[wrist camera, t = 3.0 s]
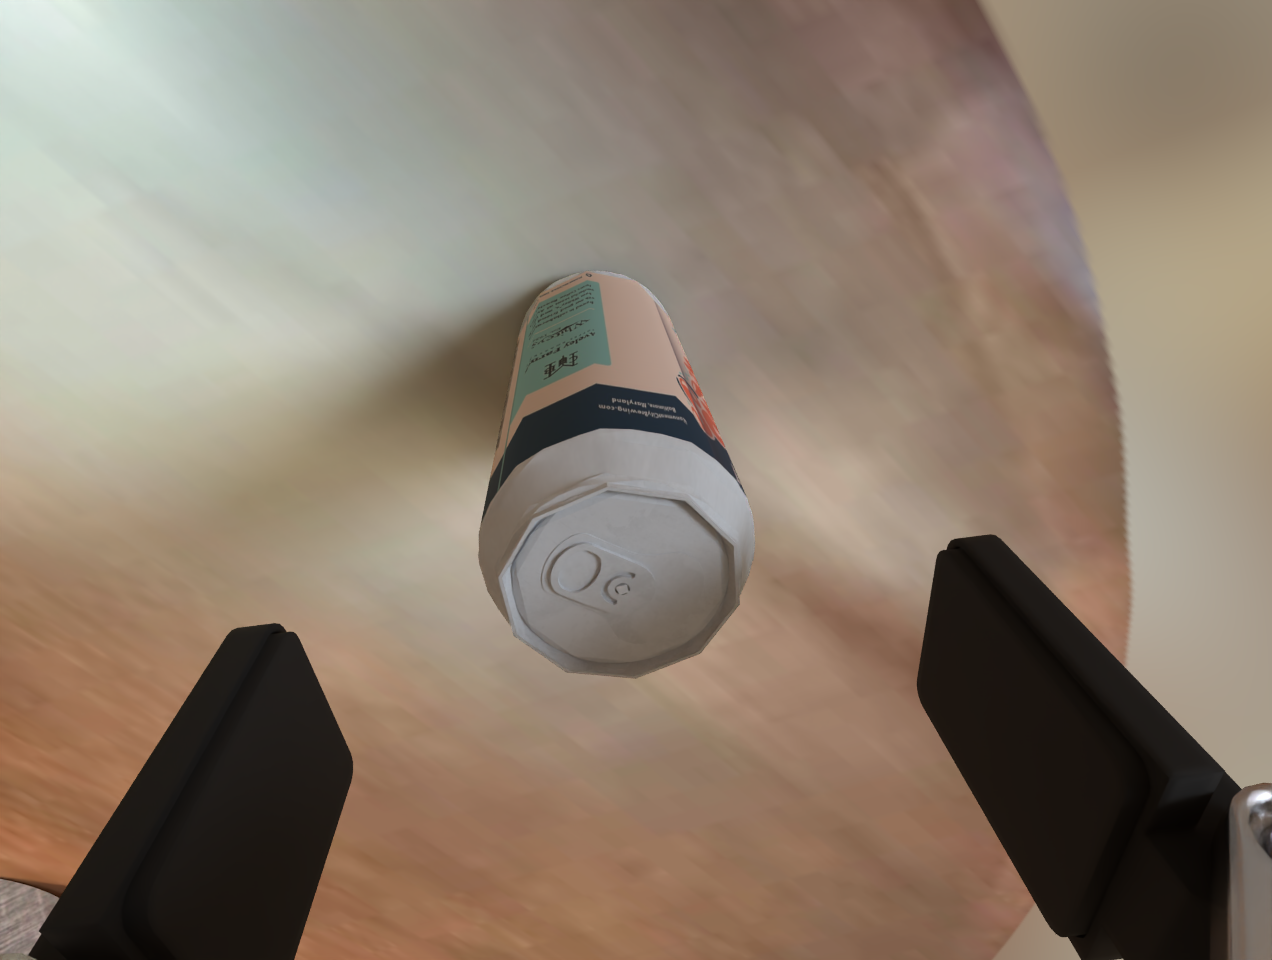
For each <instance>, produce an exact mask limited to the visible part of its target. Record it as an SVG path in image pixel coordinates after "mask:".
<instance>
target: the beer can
mask: <svg viewBox="0 0 1272 960" xmlns="http://www.w3.org/2000/svg"><path fill="white" fill-rule="evenodd" d="M754 549H755V537H754V522H753V515H752V512H751V509H750V506H749V503H748V500H747V497H746V495H745V492H744V490H743V488H742V485H741V483H740V481H739V478H738V476H737V474H736V471H735V469H734V467H733V464H732V462H731V460H730V457H729V455H728V453H727V450H726V448H725V446H724V443H723V441H722V439H721V436H720V434H719V432H718V429H717V427H716V425H715V422H714V420H713V418H712V415H711V413H710V411H709V408H708V406H707V404H706V401H705V399H704V397H703V394H702V392H701V390H700V387H699V385H698V383H697V380H696V378H695V376H694V373H693V371H692V369H691V366H690V364H689V362H688V359H687V357H686V355H685V352H684V350H683V348H682V345H681V343H680V341H679V338H678V336H677V334H676V331H675V329H674V327H673V324H672V322H671V320H670V317H669V315H668V314H667V312H666V310H665V309H664V307H663V306H662V304H661V302H660V301H659V300H658V299H657V298H656V297H655V296H654V295H653V294H652V293H651V291H650V290H649V289H648V288H646V287H645V286H643V285H642V284H640V283H639V282H637V281H635V280H633V279H631V278H629V277H627V276H625V275H621V274H617V273H613V272H608V271H585V272H580V273H575V274H572V275H570V276H568V277H565V278H563V279H560V280H558V281H556V282H554V283H553V284H551V285H550V286H549V287H548V288H547V289H545V290H544V291H543V292H542V293H540V294H539V295H538V296H537V297H536V299H535V300H534V302H533V304H532V305H531V307H530V308H529V310H528V311H527V313H526V316H525V318H524V321H523V324H522V326H521V329H520V332H519V336H518V341H517V346H516V351H515V356H514V361H513V366H512V371H511V376H510V381H509V386H508V391H507V396H506V401H505V406H504V411H503V416H502V421H501V426H500V431H499V436H498V441H497V446H496V451H495V456H494V461H493V466H492V471H491V476H490V481H489V486H488V491H487V496H486V501H485V506H484V511H483V516H482V521H481V526H480V531H479V554H478V557H479V564H480V567H481V571H482V574H483V577H484V580H485V584H486V587H487V590H488V592H489V594H490V596H491V597H492V599H493V601H494V602H495V604H496V606H497V607H498V609H499V610H500V612H501V613H502V615H503V616H504V617H505V619H506V620H507V622H508V623H509V624H510V626H511V627H512V631H513V635H514V636H515V637H516V638H518V639H519V640H521V641H522V642H523V643H525V644H526V645H528V646H529V647H531V648H532V649H534V650H535V651H536V652H538V653H539V654H541V655H542V656H544V657H545V658H547V659H548V660H549V661H551V662H552V663H554V664H555V665H557V666H558V667H560V668H561V669H562V670H564V671H565V672H568V673H579V674H591V675H602V676H614V677H625V678H638V677H641V676H643V675H646V674H649V673H651V672H654V671H656V670H659V669H662V668H664V667H667V666H669V665H672V664H675V663H677V662H680V661H682V660H685V659H688V658H690V657H693V656H695V655H698V654H700V653H701V652H702V651H703V650H704V648H705V647H706V646H707V645H708V643H709V642H710V641H711V640H712V638H713V637H714V636H715V635H716V633H717V632H718V631H719V630H720V628H721V627H722V626H723V625H724V623H725V622H726V621H727V620H728V618H729V617H730V616H731V615H732V613H733V612H734V611H735V610H736V608H737V607H738V606H739V605H740V599H739V596H740V594H741V592H742V590H743V587H744V585H745V583H746V580H747V578H748V576H749V573H750V569H751V565H752V561H753V557H754Z"/></svg>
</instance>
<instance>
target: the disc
mask: <svg viewBox="0 0 1272 960" xmlns="http://www.w3.org/2000/svg"><path fill="white" fill-rule="evenodd" d="M58 900H59V898H58V897H56V896H54V895H52V894H50V893H48V892H45V891H43V890H40V889H37V888H34V887H31V886H28V885H25V884H21V883H17V882H13V881H8V880H3V879H0V954H11V953H23V954H25V955H28V954H29V953H30V951H31V949H32V948H33V946H34V945H35V943H36V941H37V940H38V938H39V937H40V935H41V933H40V932H39V929H40V928H41V926H42V925H43V923H44V922H45V920H46V919H47V917H48V915H49V914H50V912H51V911H52V909H53V908H54V906H55V904H56V903H57V901H58Z"/></svg>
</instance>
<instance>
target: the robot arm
mask: <svg viewBox="0 0 1272 960" xmlns="http://www.w3.org/2000/svg"><path fill="white" fill-rule="evenodd" d="M917 691H918V695H919V698H920V701H921V704H922V706H923V708H924V710H925V711H926V713H927V715H928V717H929V718H930V720H931V722H932V723H933V725H934V727H935V729H936V730H937V732H938V734H939V736H940V737H941V739H942V741H943V743H944V744H945V746H946V748H947V750H948V751H949V753H950V755H951V757H952V758H953V760H954V762H955V764H956V765H957V767H958V769H959V770H960V772H961V774H962V776H963V777H964V779H965V781H966V783H967V784H968V786H969V788H970V790H971V791H972V793H973V795H974V797H975V798H976V800H977V802H978V804H979V805H980V807H981V809H982V810H983V812H984V814H985V816H986V817H987V819H988V821H989V823H990V824H991V826H992V828H993V830H994V831H995V833H996V835H997V837H998V838H999V840H1000V842H1001V844H1002V845H1003V847H1004V849H1005V850H1006V852H1007V854H1008V856H1009V857H1010V859H1011V861H1012V863H1013V864H1014V866H1015V868H1016V870H1017V871H1018V873H1019V875H1020V877H1021V878H1022V880H1023V882H1024V884H1025V885H1026V887H1027V889H1028V891H1029V892H1030V894H1031V896H1032V897H1033V899H1034V901H1035V903H1036V904H1037V906H1038V908H1039V910H1040V911H1041V913H1042V915H1043V917H1044V918H1045V920H1046V922H1047V923H1048V925H1049V926H1050V928H1051V929H1052V930H1053V931H1054V932H1055V933H1056V934H1057V935H1059V936H1060V937H1068V938H1069V939H1070V941H1071V943H1072V945H1073V946H1074V948H1075V950H1076V951H1077V953H1078V955H1079V957H1080V958H1081V960H1115V959H1122V958H1123V959H1124V960H1272V783H1261V784H1256V785H1252V786H1248V787H1245V788H1243V789H1241V788H1240V787H1239V786H1238V785H1237V784H1236V783H1235V782H1234V781H1233V780H1232V779H1231V778H1230V776H1229V775H1228V774H1227V773H1226V772H1225V770H1224V769H1223V768H1222V767H1221V766H1220V765H1219V764H1218V763H1217V762H1216V761H1215V760H1214V759H1213V758H1212V757H1211V756H1210V755H1209V754H1208V753H1207V752H1206V751H1205V750H1204V749H1203V748H1202V747H1201V746H1200V745H1199V744H1198V743H1197V741H1196V740H1195V739H1194V738H1193V737H1192V736H1191V735H1190V734H1189V733H1188V732H1187V731H1186V730H1185V729H1184V728H1183V727H1182V726H1181V725H1180V724H1179V723H1178V722H1177V721H1176V720H1175V719H1174V718H1173V717H1172V716H1171V715H1170V714H1169V713H1168V711H1167V710H1165V708H1164V707H1163V706H1162V705H1161V704H1160V703H1159V702H1158V701H1157V700H1156V699H1155V698H1154V697H1153V696H1152V695H1151V694H1150V693H1149V692H1148V691H1147V690H1146V689H1145V688H1144V687H1143V686H1142V685H1141V684H1140V683H1139V682H1138V680H1137V679H1136V678H1135V677H1134V676H1133V675H1132V674H1131V673H1130V672H1129V671H1128V670H1127V669H1126V668H1125V667H1124V666H1123V665H1122V664H1121V663H1120V662H1119V661H1118V660H1117V659H1116V658H1115V657H1114V656H1113V655H1112V654H1111V653H1110V652H1109V651H1108V649H1107V648H1106V647H1105V646H1104V645H1103V644H1102V643H1101V642H1100V641H1099V640H1098V639H1097V638H1096V637H1095V636H1094V635H1093V634H1092V633H1091V632H1090V631H1089V630H1088V629H1087V628H1086V627H1085V626H1084V625H1083V624H1082V623H1081V622H1080V621H1079V619H1078V618H1077V617H1076V616H1075V615H1074V614H1073V613H1072V612H1071V611H1070V610H1069V609H1068V608H1067V607H1066V606H1065V605H1064V604H1063V603H1062V602H1061V601H1060V600H1059V599H1058V598H1057V597H1056V596H1055V595H1054V594H1053V593H1052V592H1051V591H1050V590H1049V588H1048V587H1047V586H1046V585H1045V584H1044V583H1043V582H1042V581H1041V580H1040V579H1039V578H1038V577H1037V576H1036V575H1035V574H1034V573H1033V572H1032V571H1031V570H1030V569H1029V568H1028V567H1027V566H1026V565H1025V564H1024V563H1023V562H1022V561H1021V560H1020V559H1019V557H1018V556H1017V555H1016V554H1015V553H1014V552H1013V551H1012V550H1011V549H1010V548H1009V547H1008V546H1007V545H1006V544H1005V543H1004V542H1003V541H1002V540H1001V539H1000V538H998V537H997V536H996V535H991V534H990V535H982V536H974V537H966V538H958V539H954V540H951V541H950V543H949V544H948V547H947V550H943V551H940V552H939V553H938V555H937V559H936V565H935V571H934V577H933V583H932V590H931V596H930V602H929V608H928V615H927V621H926V627H925V633H924V640H923V646H922V652H921V658H920V664H919V671H918V677H917ZM352 775H353V761H352V756H351V753H350V751H349V748H348V746H347V744H346V742H345V739H344V737H343V735H342V733H341V731H340V728H339V726H338V724H337V722H336V719H335V717H334V715H333V713H332V711H331V708H330V706H329V704H328V702H327V699H326V697H325V695H324V693H323V691H322V688H321V686H320V684H319V682H318V679H317V677H316V675H315V673H314V671H313V668H312V666H311V664H310V662H309V659H308V657H307V655H306V653H305V651H304V648H303V646H302V644H301V642H300V639H299V638H298V636H297V634H295V633H294V632H286V630H285V629H284V627H283V626H281V625H280V624H276V623H273V624H265V625H257V626H249V627H241V628H236V629H234V630H232V631H231V632H230V633H229V634H228V635H227V636H226V638H225V639H224V641H223V643H222V644H221V646H220V647H219V649H218V650H217V652H216V654H215V655H214V657H213V658H212V660H211V661H210V663H209V665H208V666H207V668H206V669H205V671H204V672H203V674H202V675H201V677H200V679H199V680H198V682H197V683H196V685H195V686H194V688H193V690H192V691H191V693H190V694H189V696H188V697H187V699H186V701H185V702H184V704H183V705H182V707H181V708H180V710H179V712H178V713H177V715H176V716H175V718H174V719H173V721H172V723H171V724H170V726H169V727H168V729H167V730H166V732H165V734H164V735H163V737H162V738H161V740H160V741H159V743H158V744H157V746H156V748H155V749H154V751H153V752H152V754H151V755H150V757H149V759H148V760H147V762H146V763H145V765H144V766H143V768H142V770H141V771H140V773H139V774H138V776H137V777H136V779H135V781H134V782H133V784H132V785H131V787H130V788H129V790H128V792H127V793H126V795H125V796H124V798H123V799H122V801H121V802H120V804H119V806H118V807H117V809H116V810H115V812H114V813H113V815H112V817H111V818H110V820H109V821H108V823H107V824H106V826H105V828H104V829H103V831H102V832H101V834H100V835H99V837H98V839H97V840H96V842H95V843H94V845H93V846H92V848H91V850H90V851H89V853H88V854H87V856H86V857H85V859H84V861H83V862H82V864H81V865H80V867H79V868H78V870H77V871H76V873H75V875H74V876H73V878H72V879H71V881H70V882H69V884H68V886H67V887H66V889H65V890H64V892H63V893H62V895H61V897H60V898H59V900H58V901H57V903H56V904H55V906H54V908H53V909H52V911H51V912H50V914H49V915H48V917H47V919H46V920H45V922H44V923H43V925H42V926H41V928H40V929H39V932H40V933H41V935H40V937H39V938H38V940H37V941H36V943H35V945H34V946H33V948H32V949H31V951H30V953H29V954H28V955H25V954H23V953H11V954H0V960H294V958H295V955H296V952H297V949H298V946H299V943H300V939H301V936H302V933H303V930H304V927H305V924H306V921H307V918H308V915H309V911H310V908H311V905H312V902H313V899H314V896H315V893H316V890H317V886H318V883H319V880H320V877H321V874H322V871H323V868H324V865H325V862H326V858H327V855H328V852H329V849H330V846H331V843H332V840H333V837H334V834H335V830H336V827H337V824H338V821H339V818H340V815H341V812H342V809H343V805H344V802H345V799H346V796H347V793H348V790H349V787H350V784H351V780H352Z"/></svg>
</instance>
